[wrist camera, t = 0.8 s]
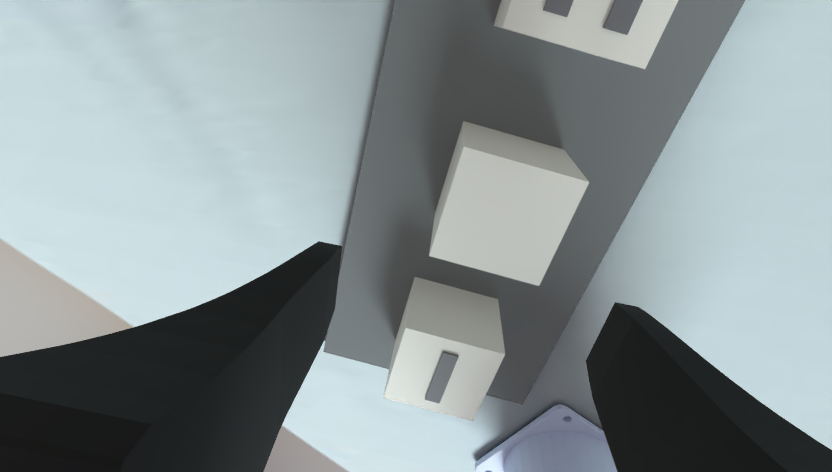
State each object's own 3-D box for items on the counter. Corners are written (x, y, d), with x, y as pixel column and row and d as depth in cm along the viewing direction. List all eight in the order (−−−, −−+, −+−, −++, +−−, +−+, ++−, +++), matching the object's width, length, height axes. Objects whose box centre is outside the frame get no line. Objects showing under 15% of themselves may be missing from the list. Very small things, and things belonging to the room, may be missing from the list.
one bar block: (498, 299, 21) (505, 356, 18) (471, 360, 23) (473, 423, 20) (415, 276, 21) (405, 329, 18) (395, 340, 23) (382, 399, 20)
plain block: (563, 149, 18) (589, 182, 14) (525, 238, 20) (539, 286, 16) (463, 120, 18) (463, 146, 14) (435, 213, 20) (429, 255, 16)
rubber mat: (521, 396, 25) (522, 404, 25) (326, 344, 25) (323, 351, 24) (804, -126, 14) (818, -132, 13) (445, -238, 13) (444, -249, 13)
